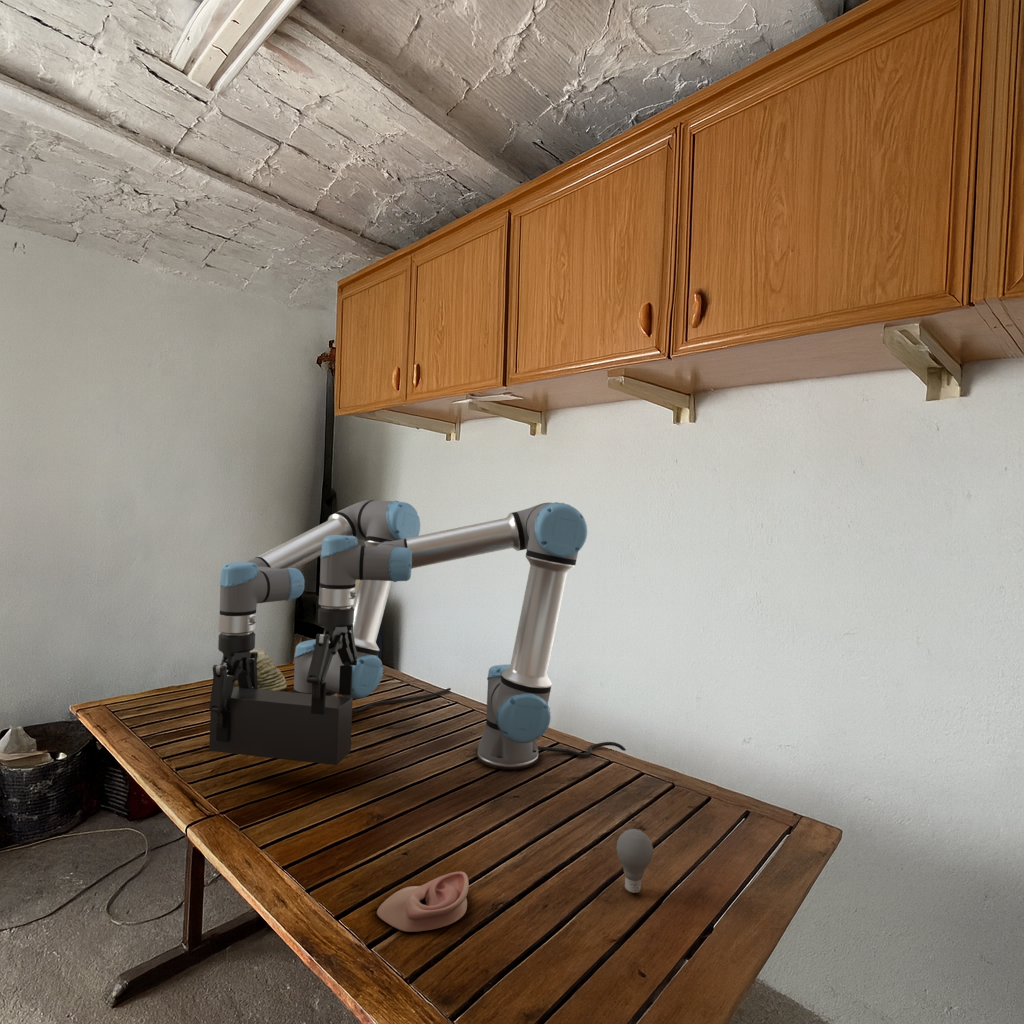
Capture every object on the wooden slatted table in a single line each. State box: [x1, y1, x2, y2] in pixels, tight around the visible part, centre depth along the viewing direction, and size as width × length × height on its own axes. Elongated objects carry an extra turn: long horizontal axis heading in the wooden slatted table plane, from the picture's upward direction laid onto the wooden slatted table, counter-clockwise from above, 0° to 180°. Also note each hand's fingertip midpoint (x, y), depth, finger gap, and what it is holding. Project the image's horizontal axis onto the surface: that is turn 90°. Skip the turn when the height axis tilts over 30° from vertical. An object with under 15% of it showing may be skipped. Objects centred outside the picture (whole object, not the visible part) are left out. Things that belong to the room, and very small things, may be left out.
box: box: [208, 687, 354, 766], centre depth 140 cm, size 30×7×12 cm, turn 81°
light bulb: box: [615, 828, 654, 894], centre depth 106 cm, size 6×6×10 cm
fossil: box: [227, 647, 288, 692], centre depth 198 cm, size 9×18×15 cm, turn 132°
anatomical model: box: [376, 871, 470, 933], centre depth 99 cm, size 13×4×12 cm
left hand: (233, 734), depth 141 cm, fingers closed on box, 7 cm apart
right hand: (332, 703), depth 138 cm, fingers open, 13 cm apart
